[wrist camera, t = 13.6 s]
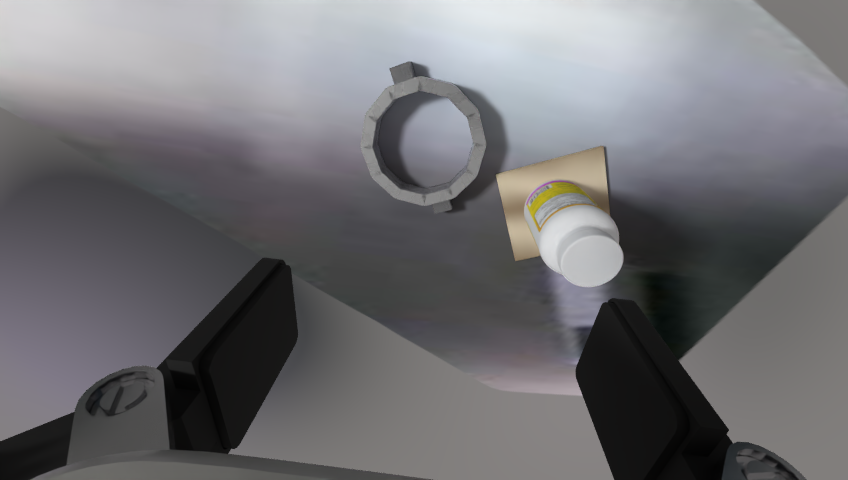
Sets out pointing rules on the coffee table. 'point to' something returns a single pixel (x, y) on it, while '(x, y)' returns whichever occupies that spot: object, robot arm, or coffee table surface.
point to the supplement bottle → (573, 233)
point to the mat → (522, 181)
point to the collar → (369, 145)
